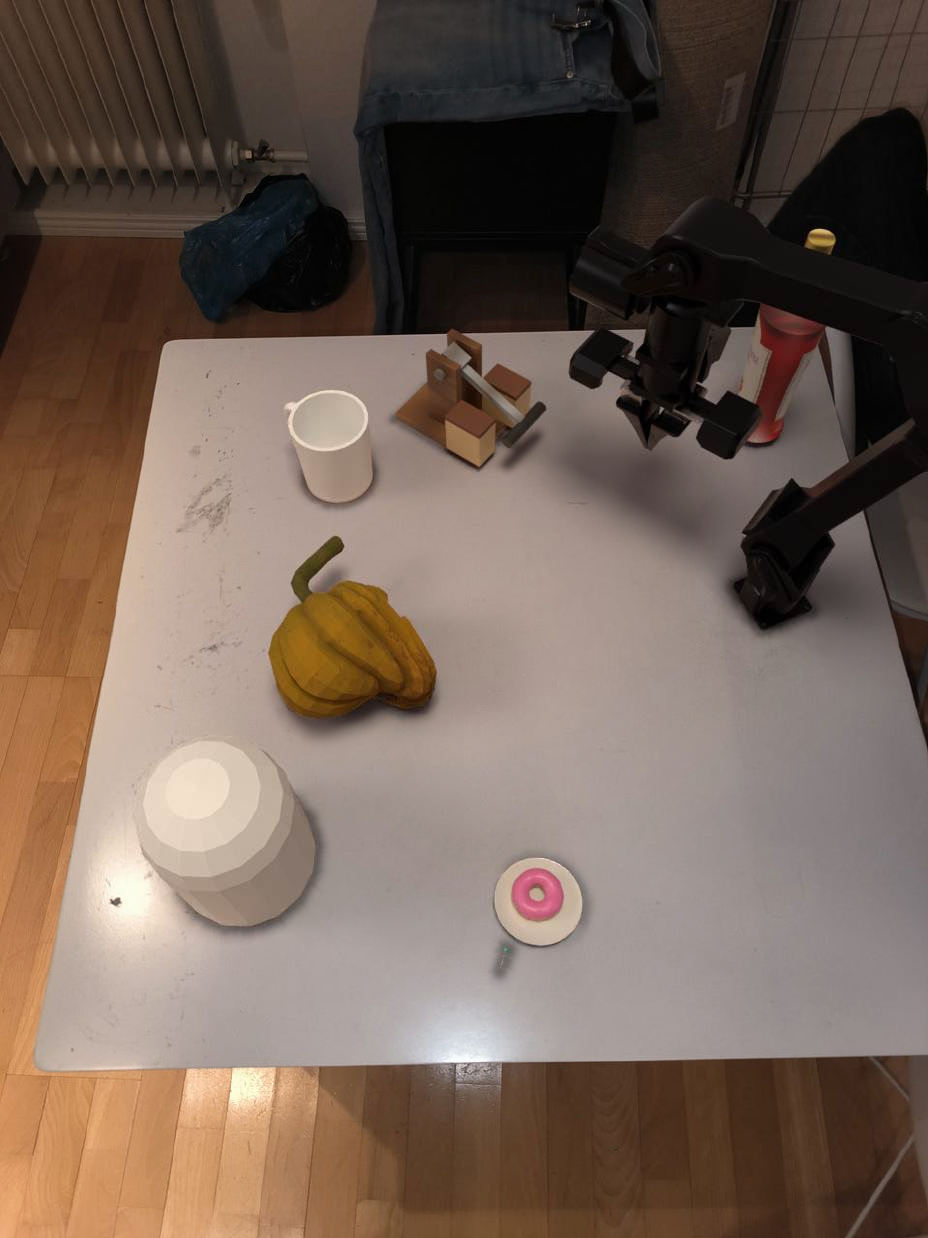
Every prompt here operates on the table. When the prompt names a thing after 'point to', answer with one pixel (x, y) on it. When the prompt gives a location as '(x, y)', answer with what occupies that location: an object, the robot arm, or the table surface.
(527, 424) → the blade lever
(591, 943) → the table surface
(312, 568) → the pumpkin
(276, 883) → the container
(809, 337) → the liquor
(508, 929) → the donut on plate
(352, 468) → the mug
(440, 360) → the slicer
